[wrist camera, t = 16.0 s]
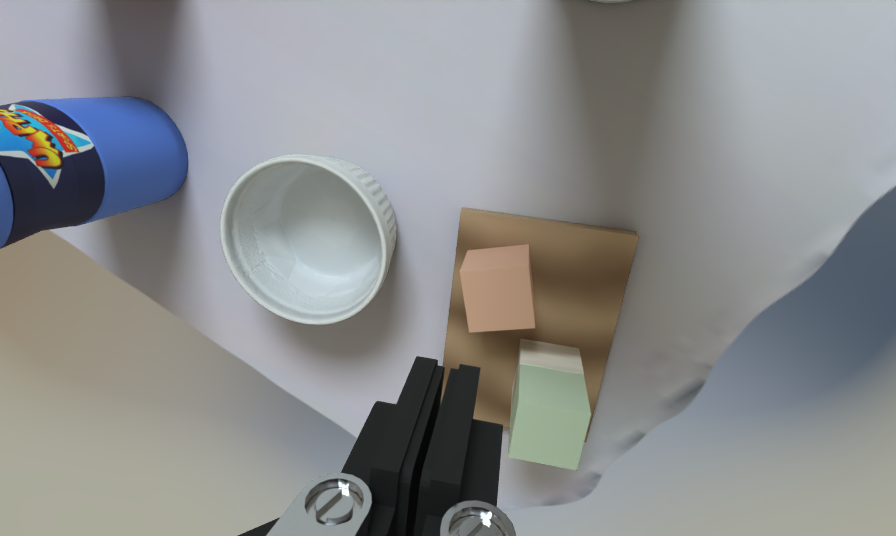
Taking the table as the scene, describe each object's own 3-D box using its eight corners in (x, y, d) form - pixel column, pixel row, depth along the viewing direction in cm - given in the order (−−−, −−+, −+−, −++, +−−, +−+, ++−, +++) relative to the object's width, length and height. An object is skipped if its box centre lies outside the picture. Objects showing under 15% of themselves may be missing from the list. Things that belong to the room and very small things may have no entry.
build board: (462, 207, 41) (453, 223, 36) (636, 231, 39) (651, 252, 34) (439, 406, 48) (429, 442, 43) (584, 433, 46) (590, 474, 41)
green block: (520, 363, 39) (518, 400, 34) (583, 374, 38) (591, 414, 34) (510, 414, 41) (507, 457, 36) (571, 426, 40) (576, 470, 36)
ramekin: (425, 279, 43) (407, 313, 37) (293, 302, 46) (255, 337, 40) (384, 129, 39) (356, 137, 33) (242, 164, 42) (191, 178, 36)
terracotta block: (467, 250, 40) (459, 271, 36) (528, 244, 40) (528, 265, 35) (475, 305, 42) (469, 332, 37) (534, 300, 41) (535, 328, 36)
